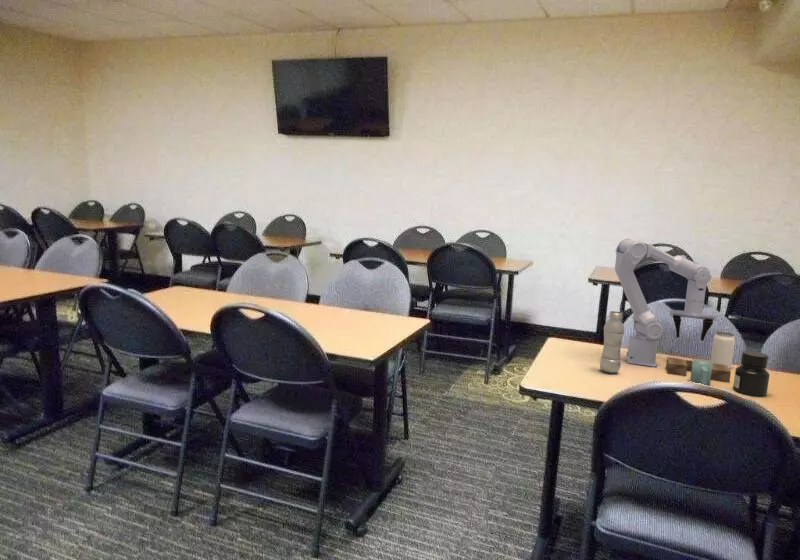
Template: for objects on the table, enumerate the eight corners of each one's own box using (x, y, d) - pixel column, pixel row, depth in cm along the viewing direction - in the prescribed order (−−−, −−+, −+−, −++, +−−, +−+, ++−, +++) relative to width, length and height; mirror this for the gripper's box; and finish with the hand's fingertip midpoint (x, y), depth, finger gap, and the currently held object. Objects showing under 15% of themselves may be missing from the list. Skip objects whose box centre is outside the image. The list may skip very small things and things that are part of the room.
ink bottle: (740, 384, 180) (746, 348, 178) (771, 393, 173) (777, 355, 171) (727, 390, 174) (732, 352, 172) (758, 399, 167) (764, 359, 166)
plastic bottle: (620, 371, 188) (627, 311, 185) (619, 376, 182) (625, 315, 179) (600, 367, 191) (606, 309, 188) (597, 373, 185) (604, 312, 182)
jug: (692, 388, 174) (695, 366, 173) (689, 378, 184) (691, 357, 183) (713, 391, 172) (716, 369, 171) (708, 381, 182) (711, 360, 181)
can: (733, 370, 195) (738, 336, 193) (713, 368, 196) (718, 335, 195) (727, 365, 202) (731, 332, 200) (707, 363, 203) (711, 330, 201)
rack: (667, 373, 188) (668, 363, 188) (665, 367, 196) (667, 357, 195) (729, 382, 182) (730, 372, 181) (725, 375, 189) (726, 365, 189)
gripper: (672, 299, 195) (667, 338, 197) (720, 304, 190) (714, 344, 192) (671, 296, 202) (666, 333, 204) (717, 301, 197) (711, 339, 199)
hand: (689, 338), depth 199 cm, fingers open, 7 cm apart
